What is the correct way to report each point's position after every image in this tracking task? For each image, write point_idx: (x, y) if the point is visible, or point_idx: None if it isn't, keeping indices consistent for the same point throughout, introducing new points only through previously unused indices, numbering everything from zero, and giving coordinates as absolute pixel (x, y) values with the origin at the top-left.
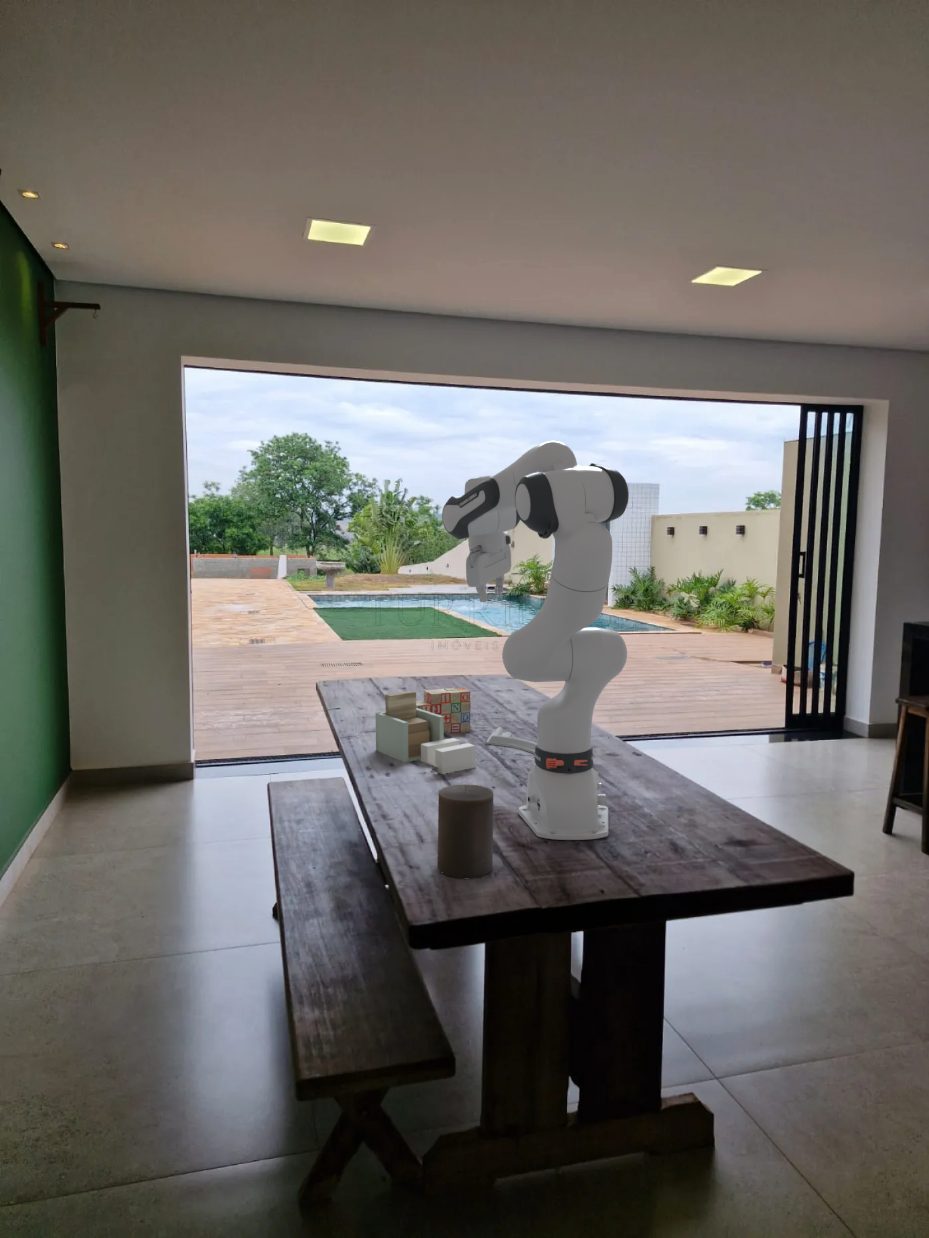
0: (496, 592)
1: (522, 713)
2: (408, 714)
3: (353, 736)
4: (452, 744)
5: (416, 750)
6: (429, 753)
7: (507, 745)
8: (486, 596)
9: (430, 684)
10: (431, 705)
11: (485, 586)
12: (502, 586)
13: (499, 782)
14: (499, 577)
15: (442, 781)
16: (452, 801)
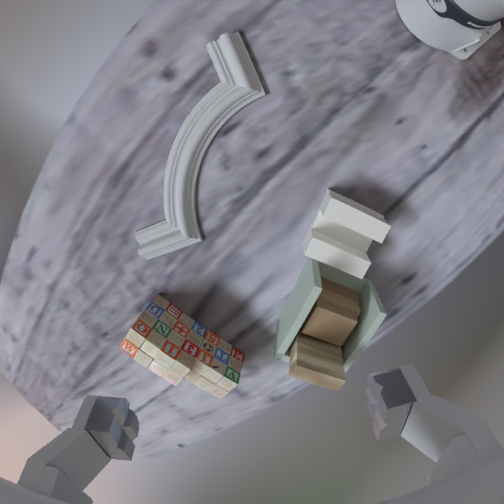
0: (134, 421)
1: (48, 274)
2: (311, 345)
3: (270, 396)
4: (326, 241)
5: (340, 288)
6: (365, 256)
7: (194, 203)
8: (418, 388)
9: (50, 403)
10: (195, 357)
11: (463, 447)
12: (80, 424)
13: (377, 122)
14: (68, 492)
15: (409, 199)
16: None
